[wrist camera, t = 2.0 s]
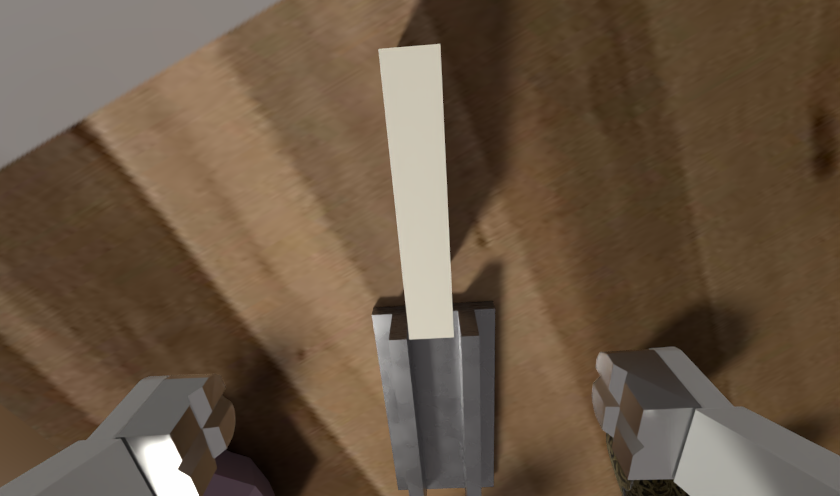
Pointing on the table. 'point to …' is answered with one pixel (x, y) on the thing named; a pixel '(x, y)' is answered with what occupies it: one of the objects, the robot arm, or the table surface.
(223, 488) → the flask
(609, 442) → the dark grey small vase
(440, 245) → the door panel
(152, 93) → the table surface
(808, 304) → the table surface
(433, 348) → the floor track
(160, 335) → the table surface
